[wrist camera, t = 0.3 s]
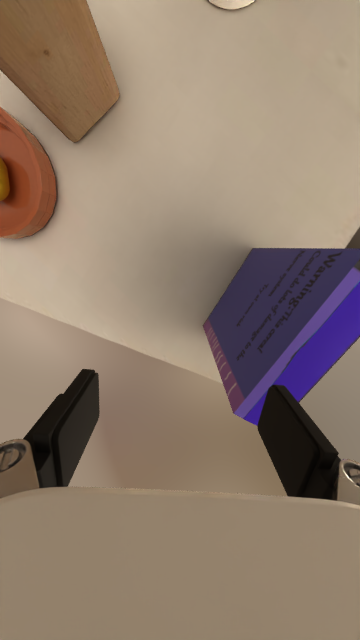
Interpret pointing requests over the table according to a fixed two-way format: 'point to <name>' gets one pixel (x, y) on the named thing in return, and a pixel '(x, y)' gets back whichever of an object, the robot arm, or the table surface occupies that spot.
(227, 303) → the purple book
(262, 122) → the table surface
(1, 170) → the lemon
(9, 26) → the wooden block
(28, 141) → the fruit bowl
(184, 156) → the table surface
